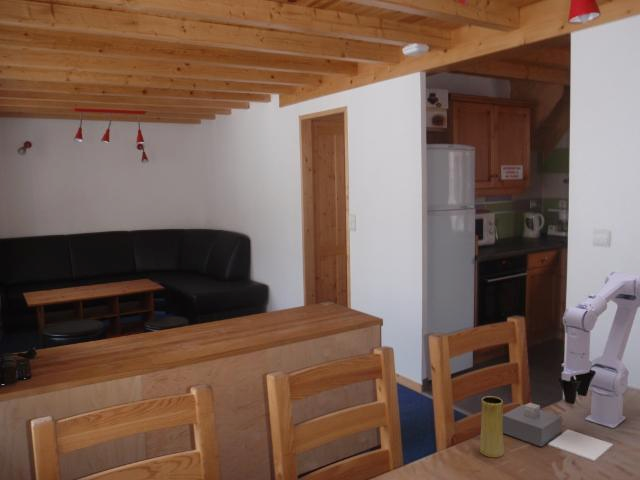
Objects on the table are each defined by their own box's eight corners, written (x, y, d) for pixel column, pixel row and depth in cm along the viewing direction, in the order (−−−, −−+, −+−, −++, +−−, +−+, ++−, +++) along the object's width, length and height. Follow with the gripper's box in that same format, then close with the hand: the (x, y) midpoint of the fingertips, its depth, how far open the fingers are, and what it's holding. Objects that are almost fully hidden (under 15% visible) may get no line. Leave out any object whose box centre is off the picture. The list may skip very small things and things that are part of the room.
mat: (567, 430, 154) (567, 429, 154) (613, 445, 146) (613, 444, 146) (547, 445, 147) (548, 443, 147) (594, 461, 138) (594, 460, 138)
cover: (522, 420, 161) (523, 394, 161) (561, 433, 153) (562, 406, 152) (501, 432, 154) (502, 404, 153) (541, 446, 145) (542, 417, 144)
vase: (505, 458, 140) (506, 405, 138) (480, 456, 141) (481, 404, 140) (502, 447, 146) (503, 396, 144) (478, 445, 147) (479, 394, 146)
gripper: (574, 342, 157) (573, 388, 158) (551, 353, 147) (549, 402, 149) (600, 347, 152) (598, 395, 153) (577, 360, 142) (575, 410, 144)
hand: (576, 399), depth 151 cm, fingers open, 7 cm apart
